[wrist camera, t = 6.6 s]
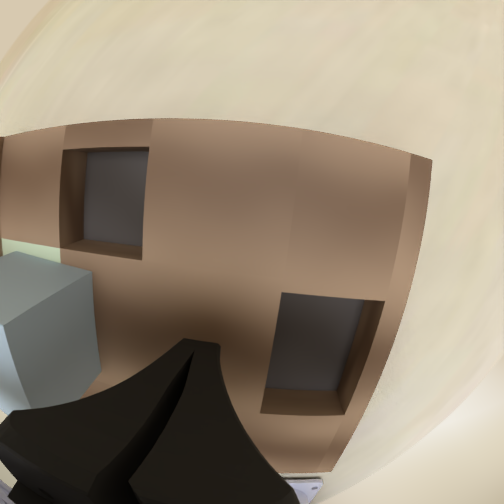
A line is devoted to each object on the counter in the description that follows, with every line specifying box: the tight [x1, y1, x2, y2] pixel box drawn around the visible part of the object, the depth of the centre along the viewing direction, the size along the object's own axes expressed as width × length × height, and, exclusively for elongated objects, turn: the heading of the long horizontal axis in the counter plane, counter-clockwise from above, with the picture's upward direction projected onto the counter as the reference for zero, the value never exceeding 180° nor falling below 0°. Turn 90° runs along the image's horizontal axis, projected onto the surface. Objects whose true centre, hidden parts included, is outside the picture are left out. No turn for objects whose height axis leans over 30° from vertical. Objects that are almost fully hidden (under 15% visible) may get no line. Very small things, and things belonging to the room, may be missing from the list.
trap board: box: [0, 118, 432, 473], centre depth 10 cm, size 17×19×4 cm
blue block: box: [0, 251, 101, 415], centre depth 8 cm, size 5×5×5 cm
